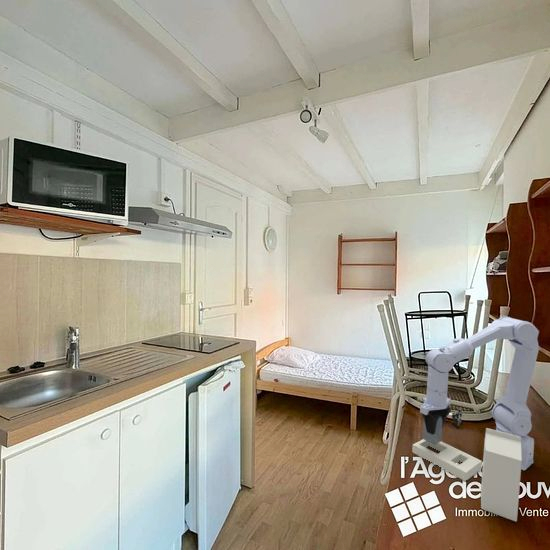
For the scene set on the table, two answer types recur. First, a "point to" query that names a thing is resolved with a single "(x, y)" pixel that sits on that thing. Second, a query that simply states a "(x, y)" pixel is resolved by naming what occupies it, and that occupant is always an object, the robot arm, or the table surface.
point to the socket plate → (448, 458)
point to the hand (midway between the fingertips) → (434, 430)
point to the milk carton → (501, 474)
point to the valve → (456, 416)
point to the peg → (437, 435)
